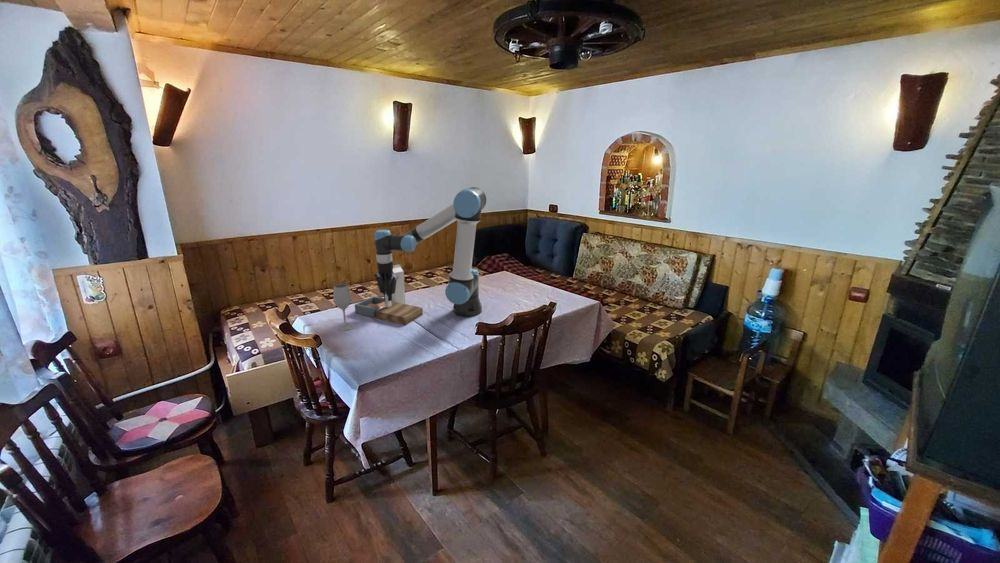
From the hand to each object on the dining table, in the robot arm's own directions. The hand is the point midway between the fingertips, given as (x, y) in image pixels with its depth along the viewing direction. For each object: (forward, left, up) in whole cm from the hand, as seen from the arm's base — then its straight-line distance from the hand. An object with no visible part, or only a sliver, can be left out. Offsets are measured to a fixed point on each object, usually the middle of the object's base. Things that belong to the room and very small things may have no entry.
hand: (388, 306), depth 200 cm
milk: (+5, -14, -5) cm, 16 cm away
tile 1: (+11, 0, -2) cm, 12 cm away
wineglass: (+8, +22, -5) cm, 24 cm away
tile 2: (+6, 0, -2) cm, 6 cm away
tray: (+9, 0, -4) cm, 10 cm away
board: (-7, 0, -4) cm, 8 cm away
